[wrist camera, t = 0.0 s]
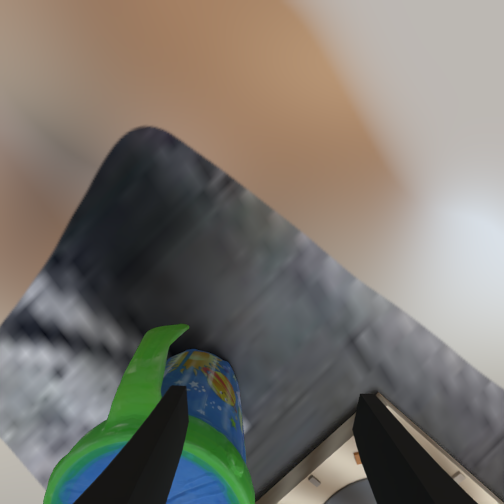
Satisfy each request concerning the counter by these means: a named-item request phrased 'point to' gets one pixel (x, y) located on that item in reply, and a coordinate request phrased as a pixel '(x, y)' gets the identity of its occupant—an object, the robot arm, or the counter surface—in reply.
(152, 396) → the snack cup
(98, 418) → the counter surface
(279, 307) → the counter surface
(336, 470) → the dial housing
